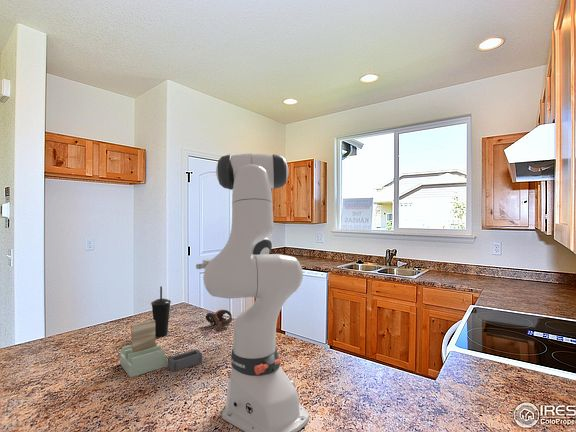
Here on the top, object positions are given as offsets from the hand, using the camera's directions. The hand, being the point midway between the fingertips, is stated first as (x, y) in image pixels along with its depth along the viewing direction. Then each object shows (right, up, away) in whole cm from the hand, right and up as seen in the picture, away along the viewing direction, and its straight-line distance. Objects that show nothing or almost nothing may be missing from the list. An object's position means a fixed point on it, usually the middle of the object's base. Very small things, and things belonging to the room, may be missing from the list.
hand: (202, 268), depth 115 cm
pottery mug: (+1, -30, +25) cm, 39 cm away
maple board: (-16, -29, -12) cm, 35 cm away
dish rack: (-16, -30, -12) cm, 36 cm away
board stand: (-3, -30, -12) cm, 32 cm away
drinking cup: (-21, -30, +15) cm, 40 cm away
